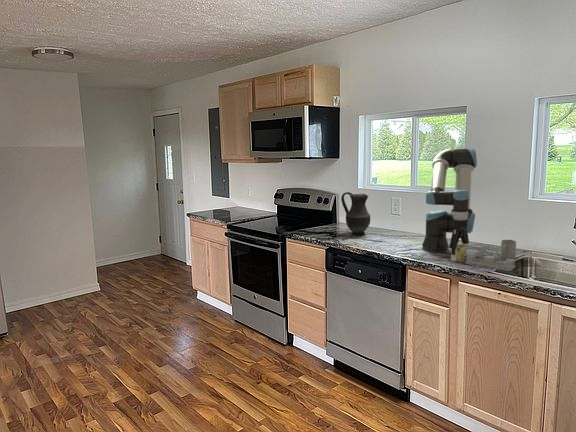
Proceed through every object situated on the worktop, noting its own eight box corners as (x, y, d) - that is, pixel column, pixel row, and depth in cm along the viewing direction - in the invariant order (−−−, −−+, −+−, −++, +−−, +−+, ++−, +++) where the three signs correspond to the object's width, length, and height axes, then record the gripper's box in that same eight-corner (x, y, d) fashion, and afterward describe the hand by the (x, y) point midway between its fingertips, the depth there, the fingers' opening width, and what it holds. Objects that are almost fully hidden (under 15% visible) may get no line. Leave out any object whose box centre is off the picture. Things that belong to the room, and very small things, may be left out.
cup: (517, 257, 229) (518, 241, 228) (509, 260, 223) (510, 244, 222) (504, 254, 235) (505, 239, 234) (495, 258, 229) (496, 242, 228)
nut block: (452, 260, 227) (453, 246, 225) (456, 258, 230) (456, 244, 229) (461, 262, 224) (461, 247, 222) (464, 260, 227) (465, 245, 226)
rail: (464, 263, 220) (465, 255, 219) (471, 260, 227) (471, 251, 226) (510, 271, 205) (511, 262, 204) (516, 267, 212) (516, 258, 211)
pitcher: (364, 238, 286) (364, 194, 281) (337, 235, 297) (336, 193, 292) (373, 233, 301) (374, 191, 295) (347, 230, 311) (346, 190, 306)
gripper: (457, 223, 212) (456, 264, 215) (476, 216, 229) (474, 254, 233) (443, 221, 217) (442, 261, 220) (462, 215, 234) (460, 252, 238)
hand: (458, 257), depth 227 cm, fingers open, 13 cm apart
